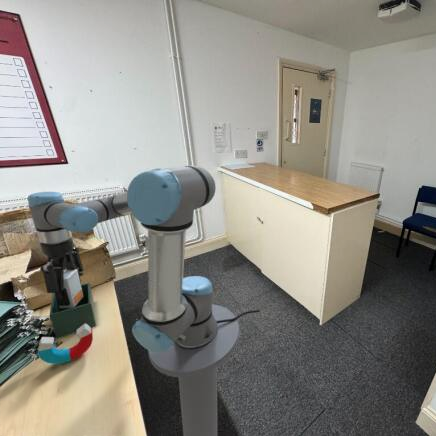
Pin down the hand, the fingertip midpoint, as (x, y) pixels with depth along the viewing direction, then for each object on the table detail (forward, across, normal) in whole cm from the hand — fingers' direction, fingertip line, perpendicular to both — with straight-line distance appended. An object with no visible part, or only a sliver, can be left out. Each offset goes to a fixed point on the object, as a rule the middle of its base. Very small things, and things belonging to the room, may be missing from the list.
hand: (71, 298), depth 83 cm
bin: (+10, 0, 0) cm, 10 cm away
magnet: (+10, +17, +8) cm, 21 cm away
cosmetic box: (+2, 0, 0) cm, 2 cm away
